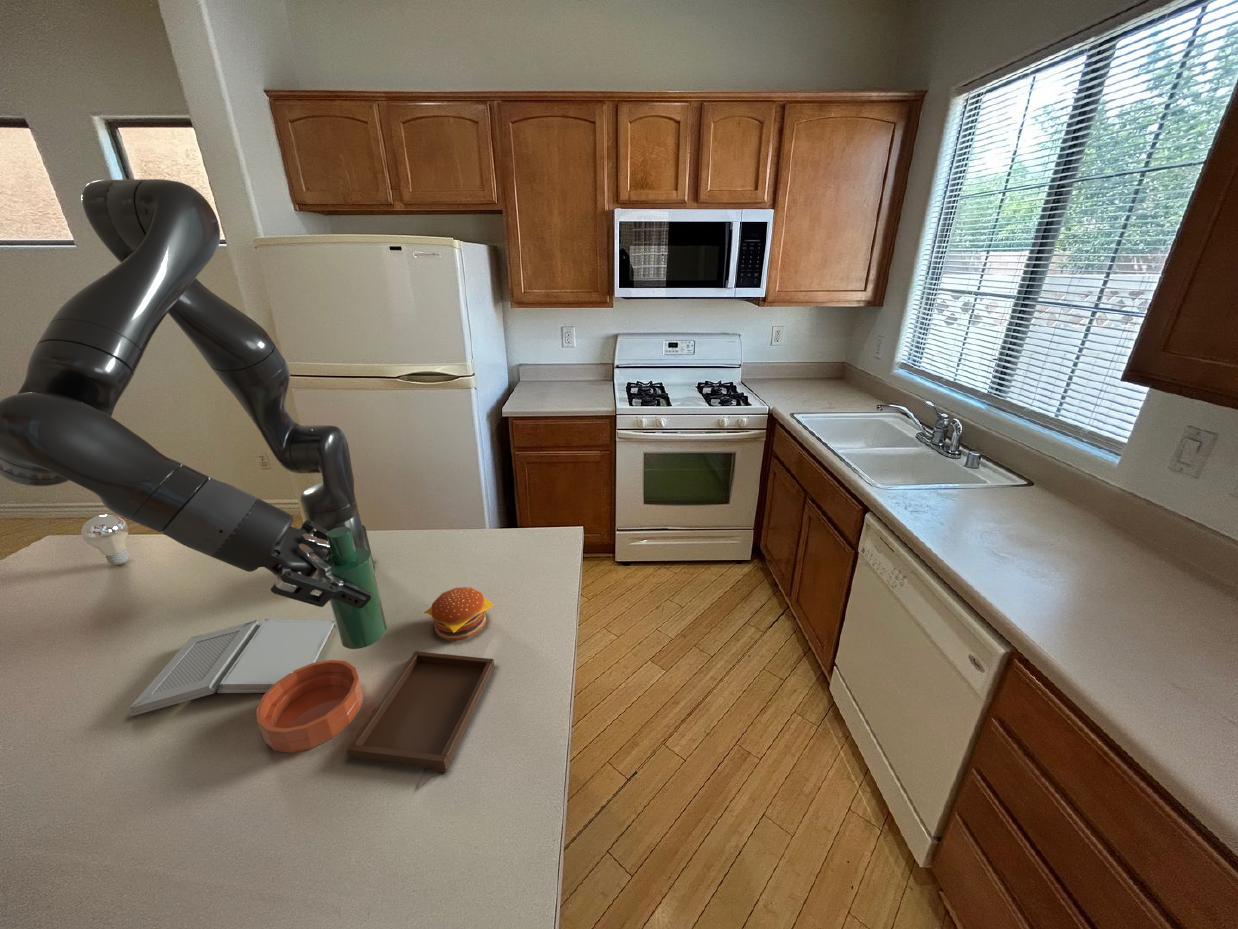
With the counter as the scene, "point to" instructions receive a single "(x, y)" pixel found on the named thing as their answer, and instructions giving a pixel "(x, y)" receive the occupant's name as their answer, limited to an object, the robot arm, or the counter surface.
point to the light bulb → (107, 537)
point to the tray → (424, 711)
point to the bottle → (358, 570)
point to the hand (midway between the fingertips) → (368, 587)
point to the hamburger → (459, 613)
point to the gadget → (235, 661)
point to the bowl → (310, 706)
